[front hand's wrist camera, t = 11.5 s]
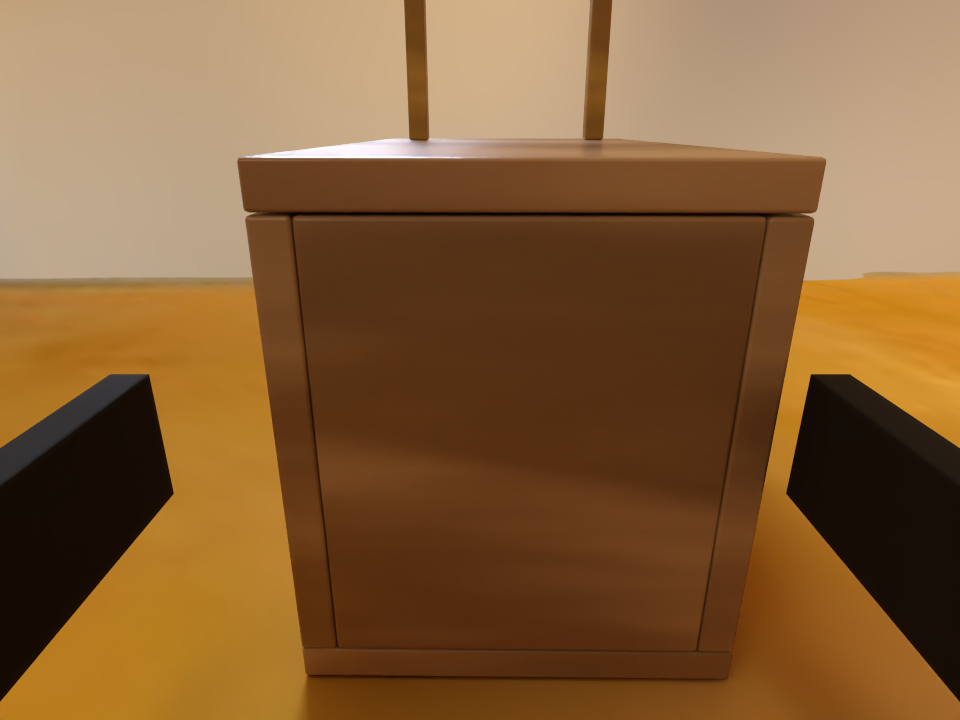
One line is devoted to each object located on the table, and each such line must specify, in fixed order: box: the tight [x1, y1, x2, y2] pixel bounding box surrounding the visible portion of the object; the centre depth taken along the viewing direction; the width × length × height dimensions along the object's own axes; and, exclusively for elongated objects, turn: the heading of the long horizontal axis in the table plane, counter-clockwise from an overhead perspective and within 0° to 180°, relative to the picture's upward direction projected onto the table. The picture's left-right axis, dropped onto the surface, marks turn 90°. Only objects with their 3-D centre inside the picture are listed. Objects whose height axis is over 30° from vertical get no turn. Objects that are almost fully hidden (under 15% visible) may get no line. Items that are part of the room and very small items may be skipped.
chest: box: [245, 212, 814, 679], centre depth 20 cm, size 16×10×10 cm, turn 179°
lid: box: [238, 0, 826, 213], centre depth 17 cm, size 17×10×8 cm, turn 179°
